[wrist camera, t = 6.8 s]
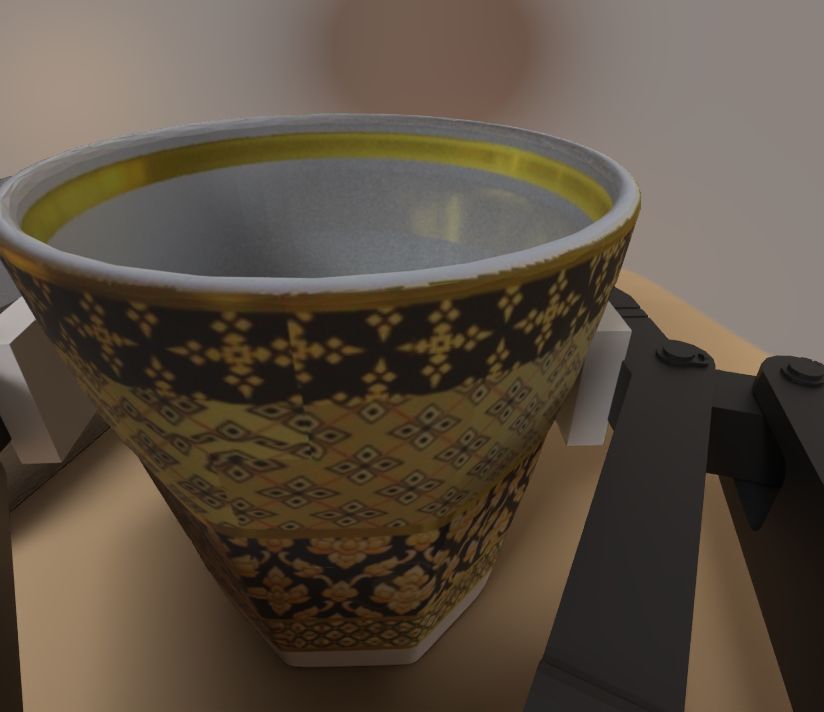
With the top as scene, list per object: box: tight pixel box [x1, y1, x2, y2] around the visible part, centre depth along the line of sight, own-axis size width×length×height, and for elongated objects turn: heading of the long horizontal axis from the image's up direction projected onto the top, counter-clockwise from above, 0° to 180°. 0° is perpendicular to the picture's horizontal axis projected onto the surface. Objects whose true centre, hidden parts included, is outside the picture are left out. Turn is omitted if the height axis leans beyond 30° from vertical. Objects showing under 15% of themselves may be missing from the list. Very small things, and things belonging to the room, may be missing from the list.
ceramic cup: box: [0, 114, 641, 667], centre depth 13 cm, size 13×10×10 cm
